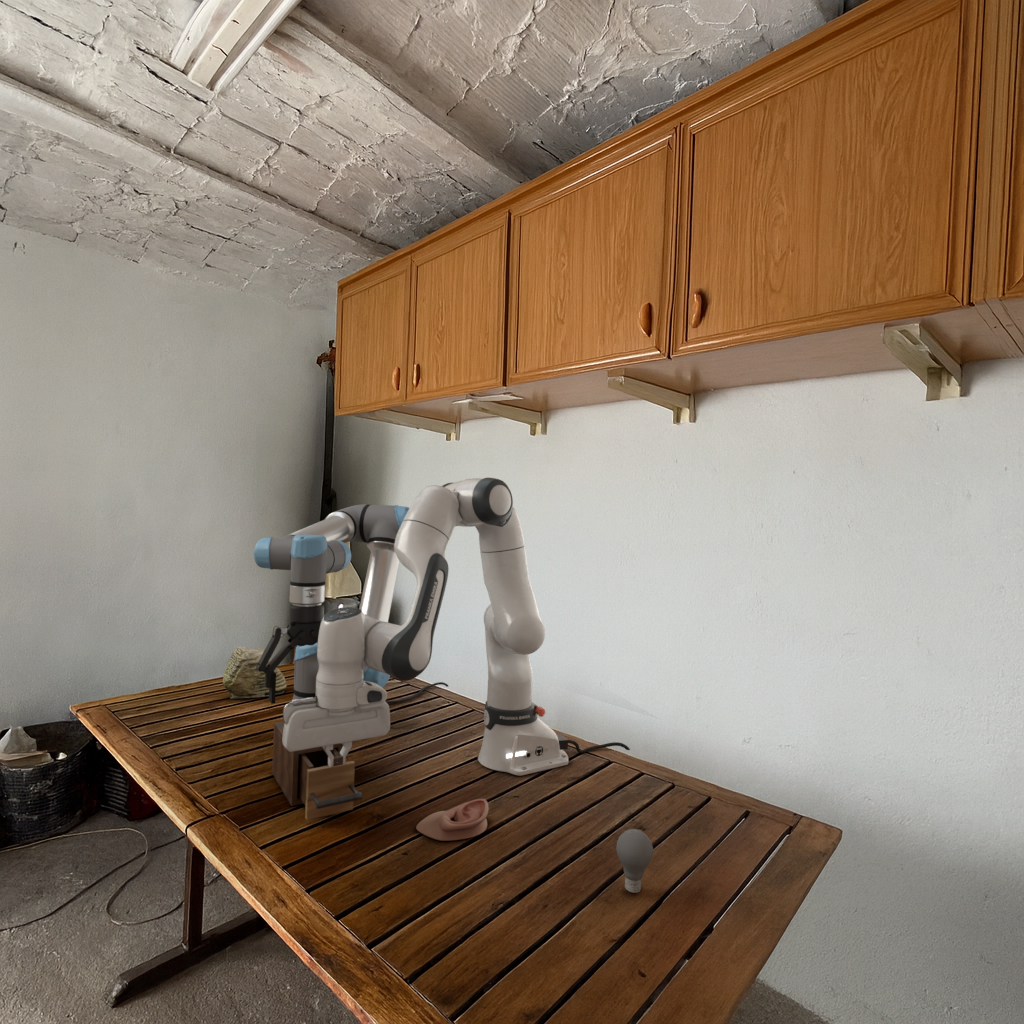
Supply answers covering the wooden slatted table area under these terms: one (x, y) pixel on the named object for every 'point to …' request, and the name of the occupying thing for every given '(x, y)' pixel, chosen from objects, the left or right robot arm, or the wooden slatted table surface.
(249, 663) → the fossil
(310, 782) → the drawer
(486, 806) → the anatomical model
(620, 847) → the light bulb
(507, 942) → the wooden slatted table surface
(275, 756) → the cabinet
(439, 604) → the right robot arm
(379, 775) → the wooden slatted table surface
